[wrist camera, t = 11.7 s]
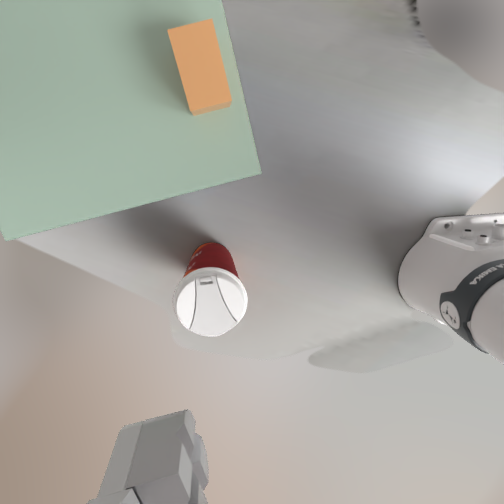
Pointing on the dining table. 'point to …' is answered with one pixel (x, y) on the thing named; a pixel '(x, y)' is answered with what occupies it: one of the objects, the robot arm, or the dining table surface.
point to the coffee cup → (210, 292)
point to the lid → (115, 108)
